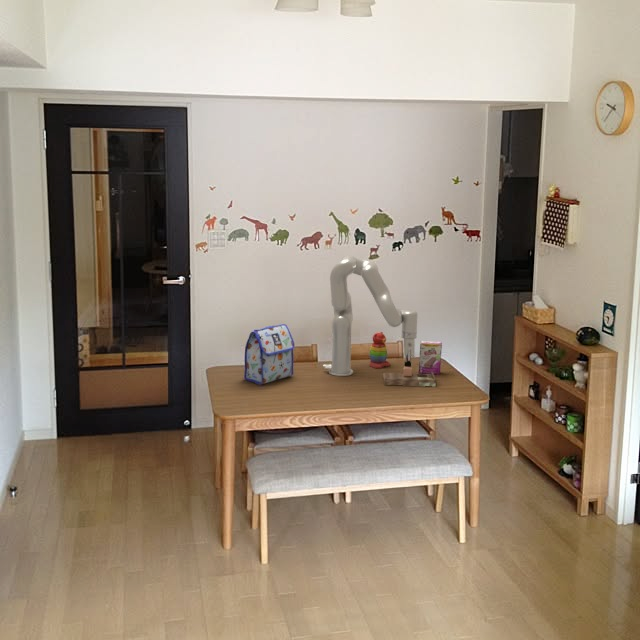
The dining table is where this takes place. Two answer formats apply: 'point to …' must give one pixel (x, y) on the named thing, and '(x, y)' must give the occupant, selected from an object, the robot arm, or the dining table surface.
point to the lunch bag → (269, 354)
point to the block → (407, 371)
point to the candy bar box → (430, 357)
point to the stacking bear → (378, 351)
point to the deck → (409, 379)
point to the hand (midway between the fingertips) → (407, 369)
